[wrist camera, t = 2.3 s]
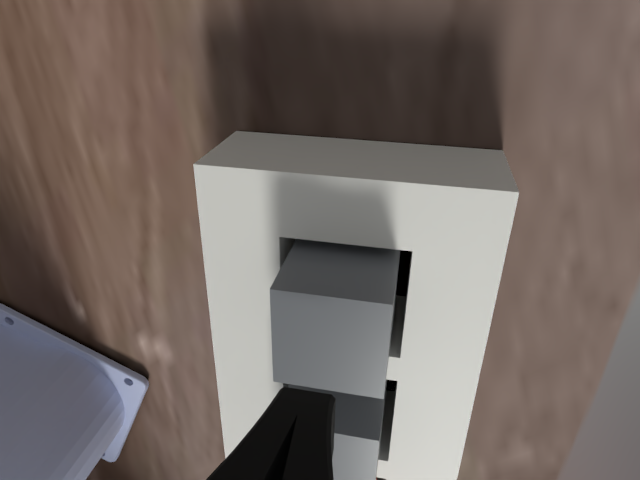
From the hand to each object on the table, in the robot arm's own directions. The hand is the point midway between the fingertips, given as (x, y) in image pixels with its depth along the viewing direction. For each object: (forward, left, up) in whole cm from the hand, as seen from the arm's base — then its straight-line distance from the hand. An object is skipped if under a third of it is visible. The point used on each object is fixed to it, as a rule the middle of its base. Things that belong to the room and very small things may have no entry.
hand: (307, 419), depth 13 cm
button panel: (+2, -5, -9) cm, 11 cm away
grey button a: (0, 0, -7) cm, 7 cm away
